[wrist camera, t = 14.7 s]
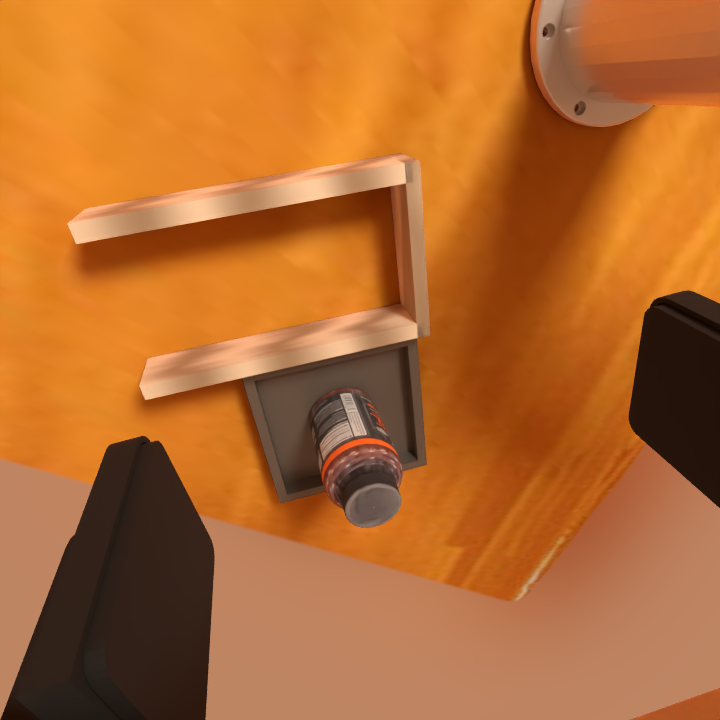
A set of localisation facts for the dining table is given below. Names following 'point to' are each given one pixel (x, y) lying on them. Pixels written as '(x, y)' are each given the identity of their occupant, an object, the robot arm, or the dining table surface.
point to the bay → (300, 340)
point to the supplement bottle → (356, 457)
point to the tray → (313, 380)
